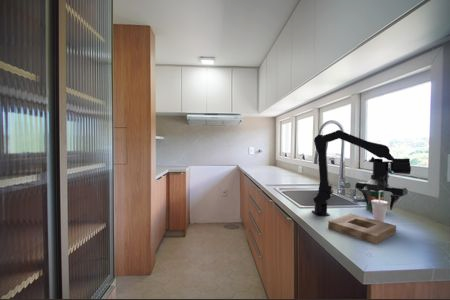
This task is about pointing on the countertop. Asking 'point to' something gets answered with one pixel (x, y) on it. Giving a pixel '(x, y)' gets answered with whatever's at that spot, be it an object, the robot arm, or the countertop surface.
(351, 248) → the countertop surface
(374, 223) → the hole board
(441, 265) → the countertop surface
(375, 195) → the canned tomato
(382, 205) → the smoothie
